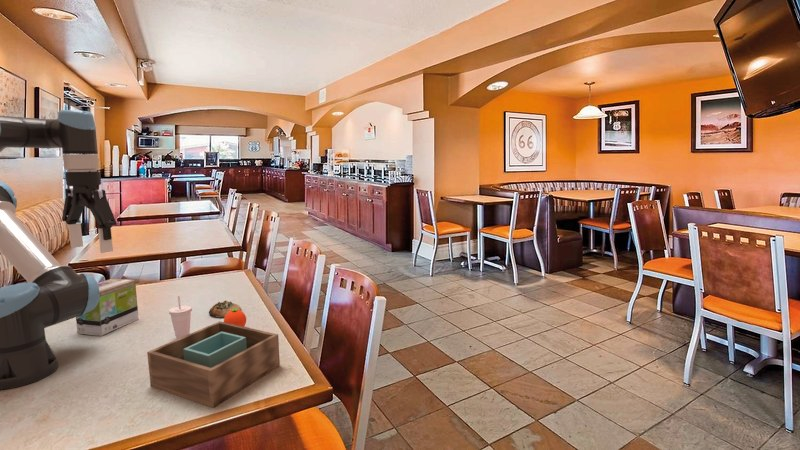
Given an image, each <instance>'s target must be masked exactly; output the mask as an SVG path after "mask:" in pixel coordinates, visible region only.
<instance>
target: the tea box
mask: <svg viewBox="0 0 800 450" xmlns="http://www.w3.org/2000/svg"><path fill="white" fill-rule="evenodd" d="M97 283H98V286H99V290H100V291H99V293H100V298H99V302H98V304H97V306H96V307H95V309H93V310H92V311H90V312H88V313H85V314H83V315H82V316H79V317H75V321H76V323H75V324H76V332H77V334H78V335H79V334H80V335H88V336H96V337H97V336H100V337H102V336H104V335H106V334H108V333H110V332H112V331H115V330H117V329H119V328H122V327H123V326H126V325H129V324H131V323H133V322H136V321H138V320H139V310H138V309H139V307H138V295H137V285H136V284H137V283H136V280H135V279H123V278H110V279H106V280H103V281H101V282H100V281H99V282H97Z"/></svg>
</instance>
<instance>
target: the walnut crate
mask: <svg viewBox="0 0 800 450" xmlns="http://www.w3.org/2000/svg"><path fill="white" fill-rule="evenodd" d="M219 332H226V333H230V334H234V335H239V336H243V337H246V342H247V349H246V350H244V351H242V352H240V353H239V354H237V355H235V356H233V357H231V358H229V359H227V360H225V361H224V362H222V363H220V364H218V365H216V366H214V367H212V368H209V367H206V366H202V365H199V364H196V363H192V362H189V361H185V360H184V354H183V349H184V348H186V347H189V346H191V345H193V344H195V343H197V342H200V341H202V340H204V339H206V338H208V337H211V336H213V335H215V334H217V333H219ZM279 343H280V342H279V334H277V333H273V332H268V331H264V330H260V329H255V328H252V327H251V328H250V327H247V326H246V327H245V326H244V327H243V326H238V325H234V324H229V323H225V322H224V321H217V322H214V323H212V324H211V325H208V326H206V327H202V328H201V329H198V330H196V331H194V332H190V334H189V335H186V336H184V337H181V338H179V339H177V340H176V339H175V340H173V341H170V342H168V343H166V344H163V345H160V346H158V347H156V348H153V349H152V350H151V349H150V350H149V351H146V355H147V362H148V372H149V373H148V374H149V383H150V384H149V385H150V387H152V388H155V389H159V390H161V391H164V392H167V393H169V394H173V395H176V396H179V397H180V398H184V399H187V400H189V401H193V402H196V403H198V404H201V405H204V406H206V407H207V406H208V407H210V408H213V409H214V408H216V407H218V406H219V405H220V404H223V403H224V402H225V401H227V400H229V399H230V398H232V397H233V396H235V395H236V394H238V393H240V392H241V391H242V390H244V389H246V388H247V387H249V386H250V385H252V384H254V383H255V382H258V380H260V379H262V378H263V377H265V376H266V375H268V374H270V373H271V372H272V371H274V370H275V369H277V368H279V367H280V366H281V362H280V345H279Z"/></svg>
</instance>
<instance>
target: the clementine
mask: <svg viewBox="0 0 800 450" xmlns="http://www.w3.org/2000/svg"><path fill="white" fill-rule="evenodd" d="M223 322H225V323H229V324H234V325H238V326H243V327H245V325H246V324H247V316H246V314H245V313H244V311H242V310H241V309H240V310H237V309H232V311H230V312H228V313H227V314H226V316H225V318H223Z"/></svg>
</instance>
